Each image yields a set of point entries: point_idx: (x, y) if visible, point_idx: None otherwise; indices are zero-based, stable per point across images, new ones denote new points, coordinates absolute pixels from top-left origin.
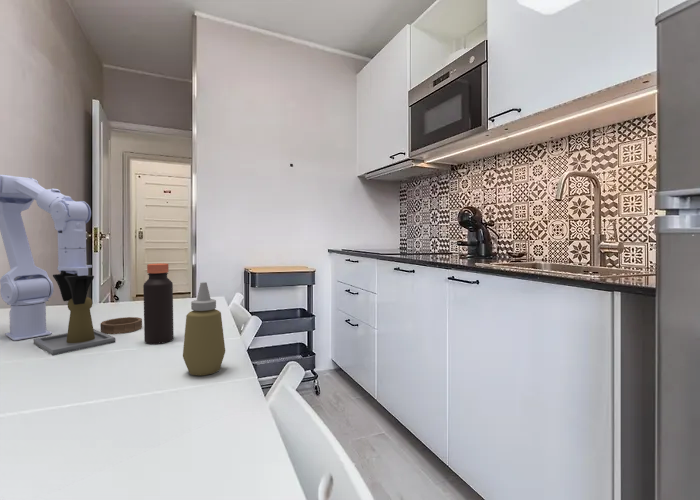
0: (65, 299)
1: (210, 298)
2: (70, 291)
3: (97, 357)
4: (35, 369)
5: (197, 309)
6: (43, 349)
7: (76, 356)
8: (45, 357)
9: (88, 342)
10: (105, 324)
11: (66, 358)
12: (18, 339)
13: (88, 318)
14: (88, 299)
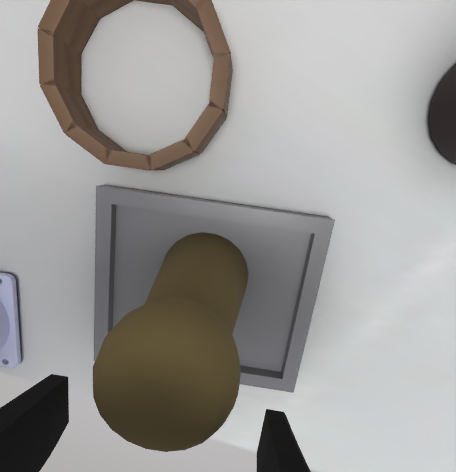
0: (61, 427)
1: None
2: (11, 459)
3: (439, 335)
4: (377, 445)
5: None
6: None
7: (366, 356)
8: (292, 394)
9: (306, 302)
10: (142, 160)
11: (358, 376)
12: (19, 356)
13: (233, 303)
14: (219, 372)
